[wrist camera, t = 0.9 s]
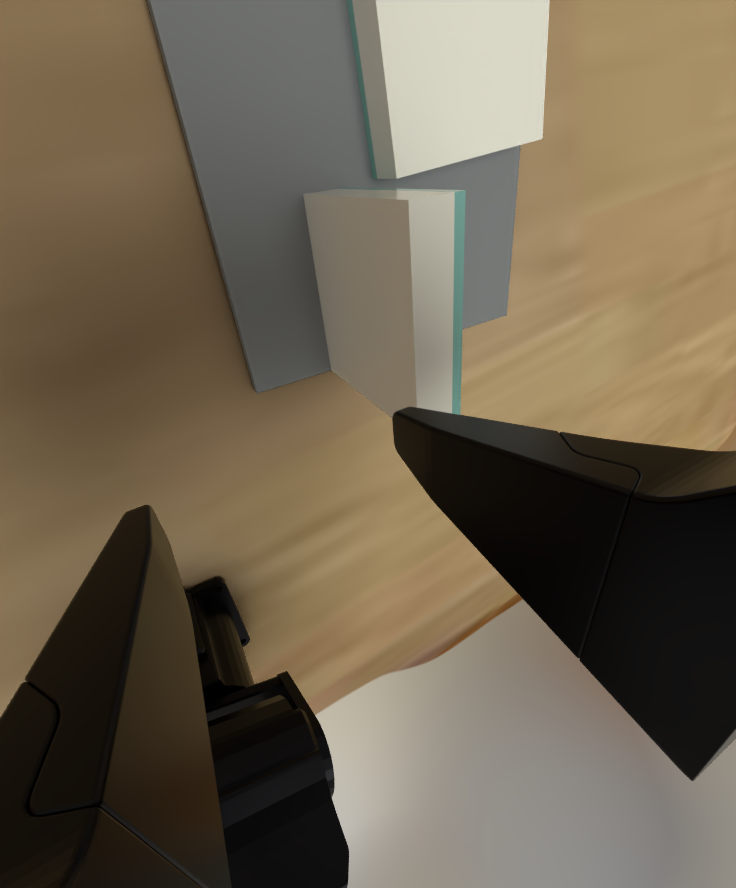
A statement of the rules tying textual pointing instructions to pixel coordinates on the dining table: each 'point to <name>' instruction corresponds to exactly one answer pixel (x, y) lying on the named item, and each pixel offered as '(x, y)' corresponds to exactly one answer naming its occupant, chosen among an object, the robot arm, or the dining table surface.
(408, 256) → the tile
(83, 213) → the dining table surface
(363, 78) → the flat tile
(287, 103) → the mat
